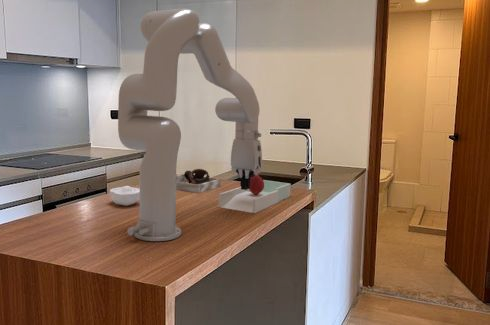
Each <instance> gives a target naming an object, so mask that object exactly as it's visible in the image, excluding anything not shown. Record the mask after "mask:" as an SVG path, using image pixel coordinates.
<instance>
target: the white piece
mask: <svg viewBox="0 0 490 325" xmlns="http://www.w3.org/2000/svg"><path fill="white" fill-rule="evenodd" d="M278 192H279V191H278V190H275V191H273V192H270V193H268V194H262V193H259V194H258V195H254V194H253V193H251V192H248V191H246V190H244V189H243V190H242V189H241V186H239V187H236V188H232V189H230V190H227V191H223V192H219V193H218V208H222V209H228V210H229V209H230V210H234V211H239V212H240V211H241V212H244V213H245V212H246V213H250V214H251V213H252V214H256V213H258V212H261V211H264V210H265V209H267V208H270V207H273V206H274V205H276V204H278V203H279V202H278Z"/></svg>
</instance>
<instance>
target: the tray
mask: <svg viewBox="0 0 490 325" xmlns="http://www.w3.org/2000/svg"><path fill="white" fill-rule="evenodd" d="M262 180H263V181H264V189H263V190H262V191H261V192H260V193H262V194H268V193H270V192H273V191H275V190H278V191H279V192H278V203H279V202H281V201H283V199H284V200H286V199H288V198H290V197H291V189H292V188H291V185H292V184H291V183H288V182H280V181H274V180H266V179H262ZM246 191H248V192H251V191H250V190H249V189H247V190H246Z"/></svg>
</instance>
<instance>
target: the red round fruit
mask: <svg viewBox="0 0 490 325" xmlns="http://www.w3.org/2000/svg"><path fill="white" fill-rule="evenodd" d="M259 175H260V173H258V174H254V175H253V176H252V177H251V178H250V187H249V190H250V191H251V193H253V194H254V195H258V194H259V193H260V192H261V191H262V190H263V189H264V181H263V180H264V179H263V178H262V177H261V176H259Z"/></svg>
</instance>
